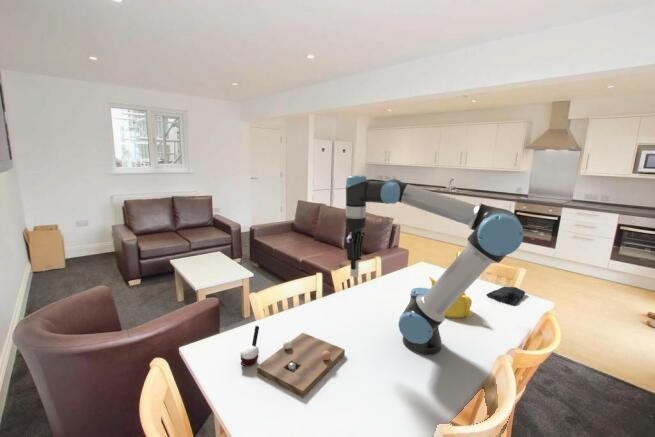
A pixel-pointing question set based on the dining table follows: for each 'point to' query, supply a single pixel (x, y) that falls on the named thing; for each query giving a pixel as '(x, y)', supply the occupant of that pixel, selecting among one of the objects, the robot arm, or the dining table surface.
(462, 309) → the teapot
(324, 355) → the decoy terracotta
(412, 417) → the dining table surface
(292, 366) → the ball
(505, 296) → the dark slate chunk
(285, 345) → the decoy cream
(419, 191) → the robot arm
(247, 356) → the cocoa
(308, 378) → the board
